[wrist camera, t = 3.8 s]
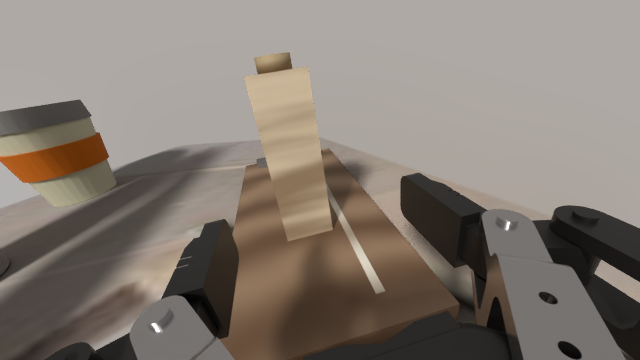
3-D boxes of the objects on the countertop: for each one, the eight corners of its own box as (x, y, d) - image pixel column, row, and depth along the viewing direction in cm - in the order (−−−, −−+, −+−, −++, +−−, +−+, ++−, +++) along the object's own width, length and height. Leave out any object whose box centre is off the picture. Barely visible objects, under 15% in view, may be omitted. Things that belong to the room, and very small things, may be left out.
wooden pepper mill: (332, 229, 20) (305, 48, 14) (287, 241, 20) (239, 58, 14) (322, 206, 24) (297, 53, 18) (284, 215, 24) (244, 61, 17)
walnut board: (456, 320, 14) (462, 291, 13) (212, 401, 12) (194, 376, 11) (330, 156, 40) (328, 142, 39) (248, 174, 39) (244, 160, 38)
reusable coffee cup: (70, 214, 35) (-7, 112, 28) (18, 212, 38) (-61, 121, 32) (143, 176, 46) (100, 96, 39) (98, 177, 49) (51, 104, 42)
